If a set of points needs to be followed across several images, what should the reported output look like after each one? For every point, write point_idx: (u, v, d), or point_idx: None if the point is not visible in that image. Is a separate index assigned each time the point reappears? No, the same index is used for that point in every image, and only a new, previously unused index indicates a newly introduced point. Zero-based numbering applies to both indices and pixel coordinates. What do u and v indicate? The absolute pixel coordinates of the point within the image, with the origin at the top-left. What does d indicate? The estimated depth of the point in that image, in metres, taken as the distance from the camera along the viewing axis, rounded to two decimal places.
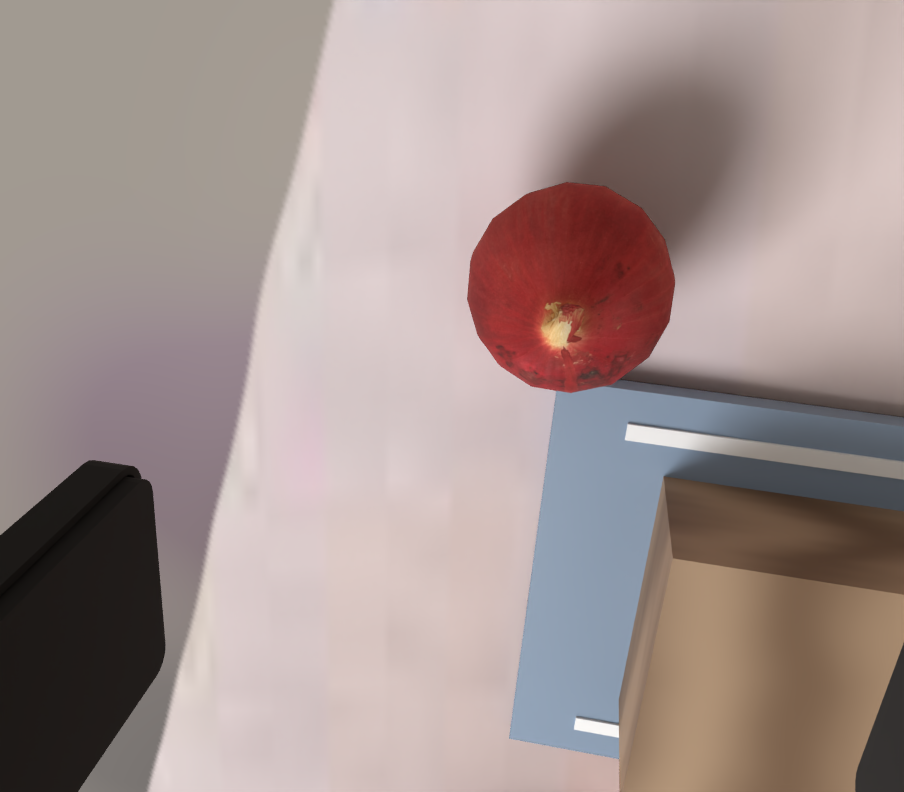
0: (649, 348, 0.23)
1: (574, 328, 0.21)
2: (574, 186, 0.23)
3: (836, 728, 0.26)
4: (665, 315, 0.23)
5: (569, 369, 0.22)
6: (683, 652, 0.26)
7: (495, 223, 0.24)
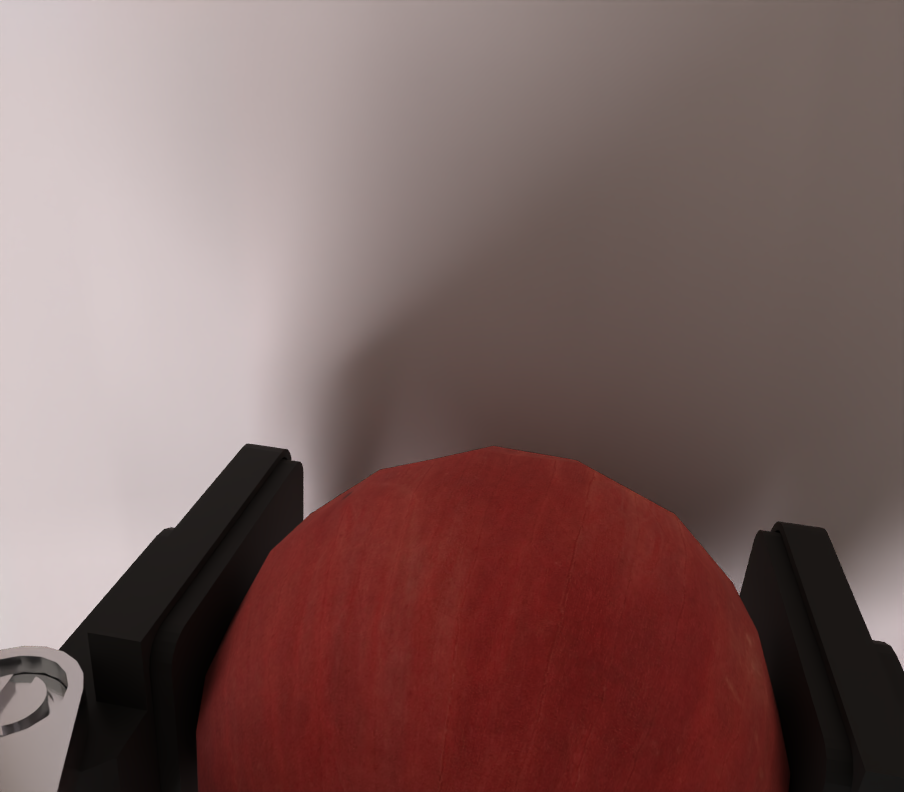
0: None
1: None
2: (490, 496, 0.08)
3: None
4: None
5: None
6: None
7: (260, 594, 0.08)
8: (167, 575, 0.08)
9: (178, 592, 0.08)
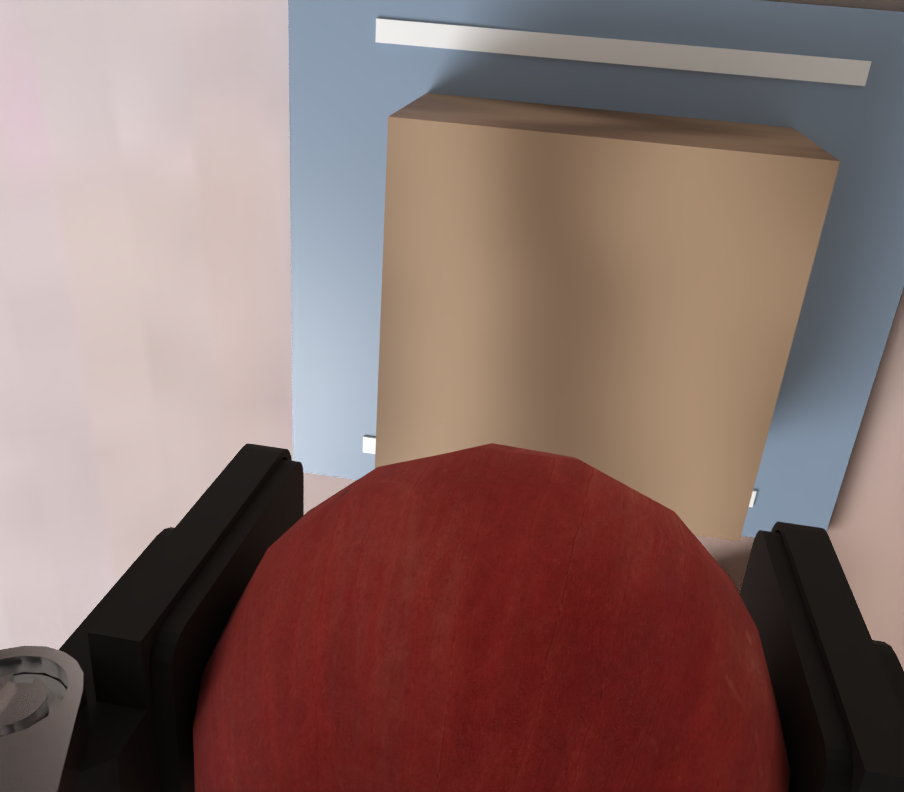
0: None
1: None
2: (488, 493, 0.08)
3: (610, 355, 0.21)
4: None
5: None
6: (419, 258, 0.21)
7: (257, 591, 0.08)
8: (167, 575, 0.08)
9: (178, 592, 0.08)
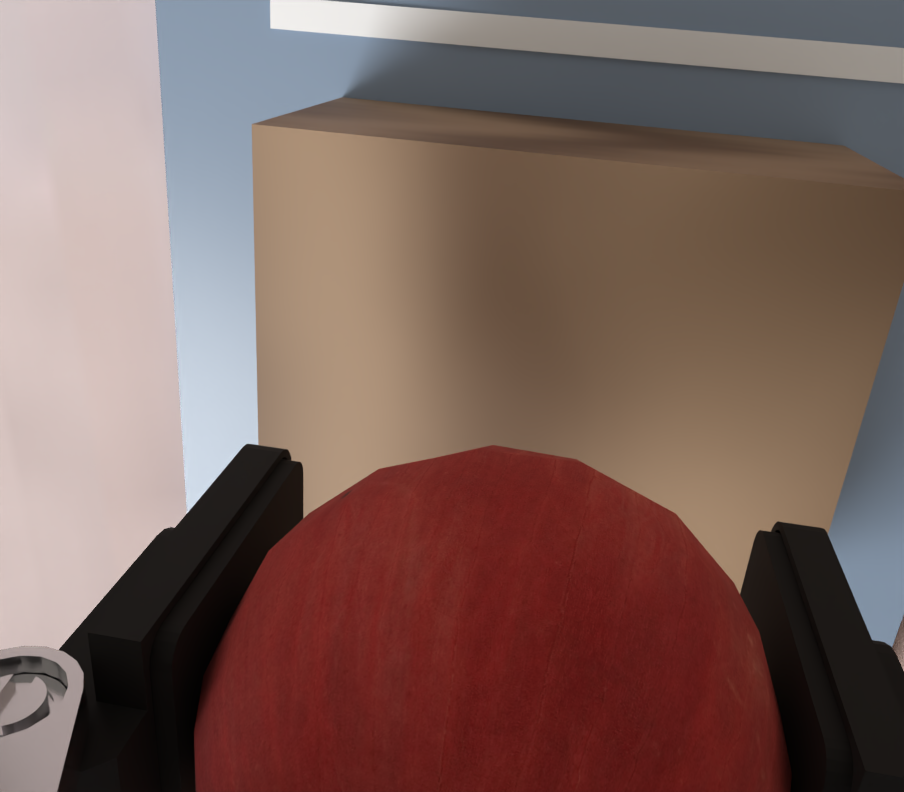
0: None
1: None
2: (489, 495, 0.08)
3: None
4: None
5: None
6: (307, 329, 0.15)
7: (258, 593, 0.08)
8: (167, 575, 0.08)
9: (177, 592, 0.08)
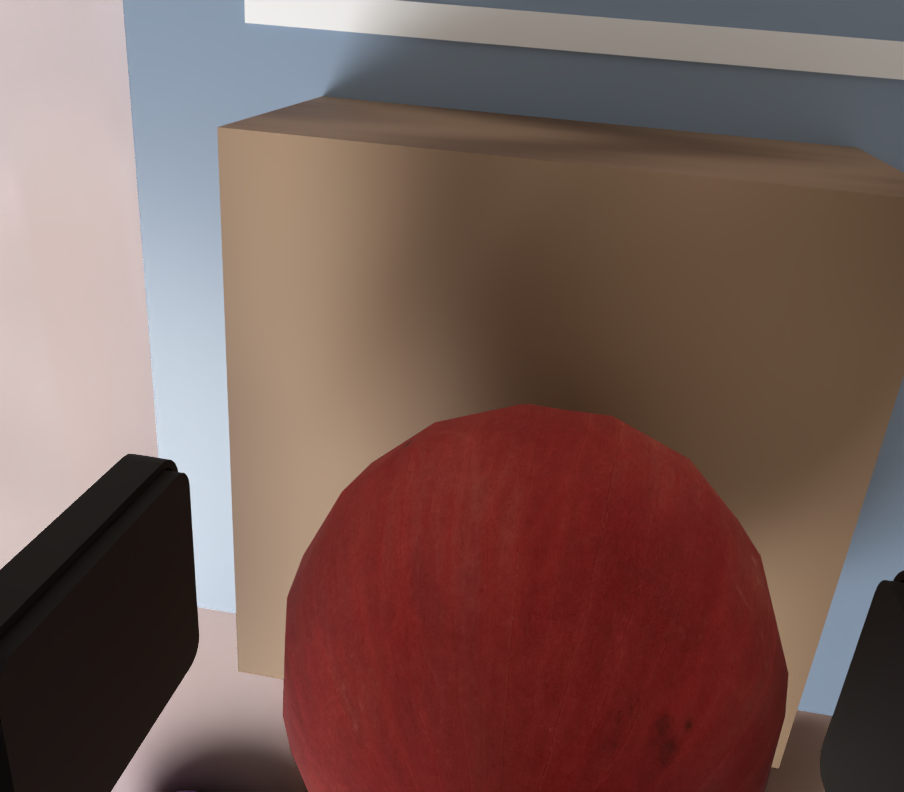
0: None
1: None
2: (537, 438, 0.09)
3: None
4: (769, 770, 0.09)
5: None
6: (280, 348, 0.14)
7: (339, 523, 0.09)
8: (6, 596, 0.08)
9: (13, 615, 0.08)
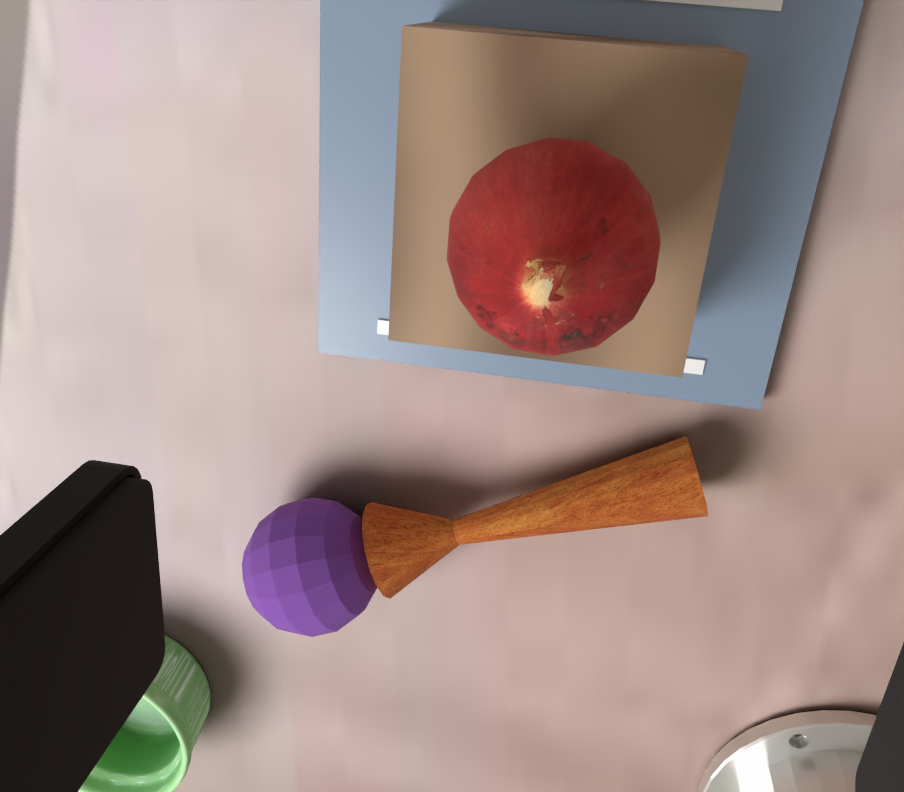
0: (634, 309, 0.23)
1: (556, 286, 0.20)
2: (557, 140, 0.22)
3: None
4: (650, 274, 0.22)
5: (551, 329, 0.22)
6: (425, 142, 0.27)
7: (475, 179, 0.23)
8: None
9: None
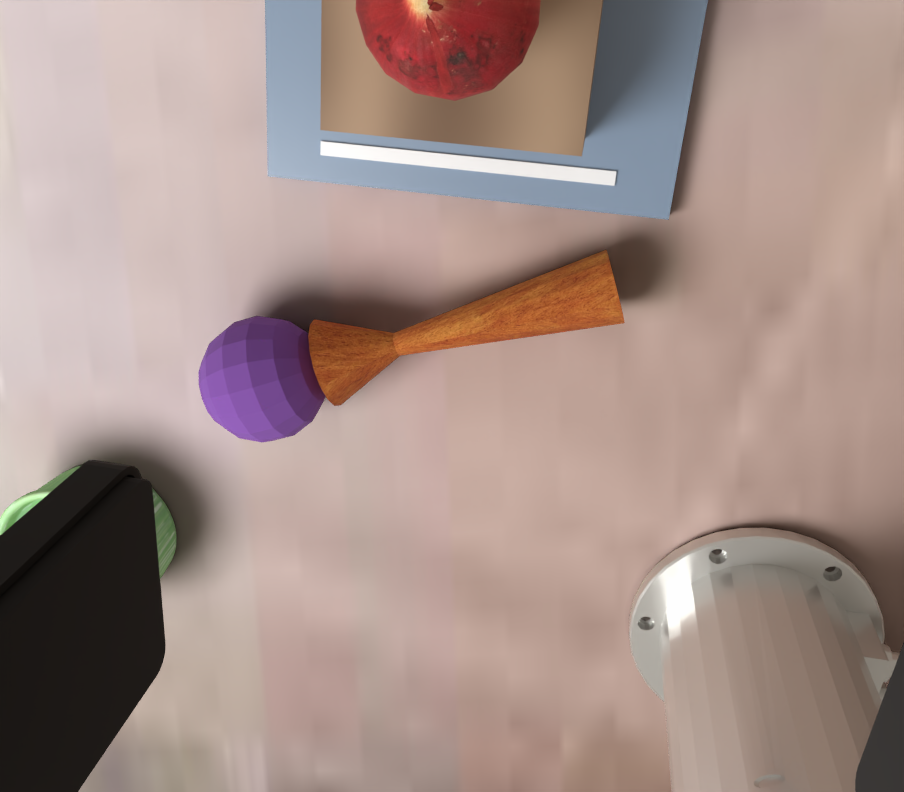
0: (515, 44, 0.26)
1: None
2: None
3: None
4: (528, 10, 0.26)
5: (438, 47, 0.25)
6: None
7: None
8: None
9: None
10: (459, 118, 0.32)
